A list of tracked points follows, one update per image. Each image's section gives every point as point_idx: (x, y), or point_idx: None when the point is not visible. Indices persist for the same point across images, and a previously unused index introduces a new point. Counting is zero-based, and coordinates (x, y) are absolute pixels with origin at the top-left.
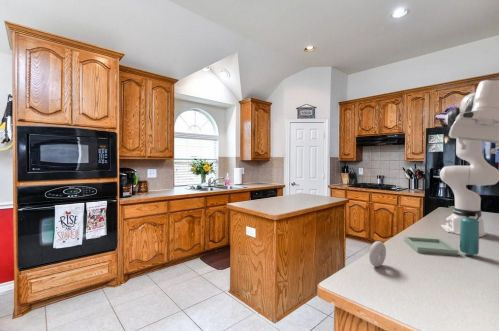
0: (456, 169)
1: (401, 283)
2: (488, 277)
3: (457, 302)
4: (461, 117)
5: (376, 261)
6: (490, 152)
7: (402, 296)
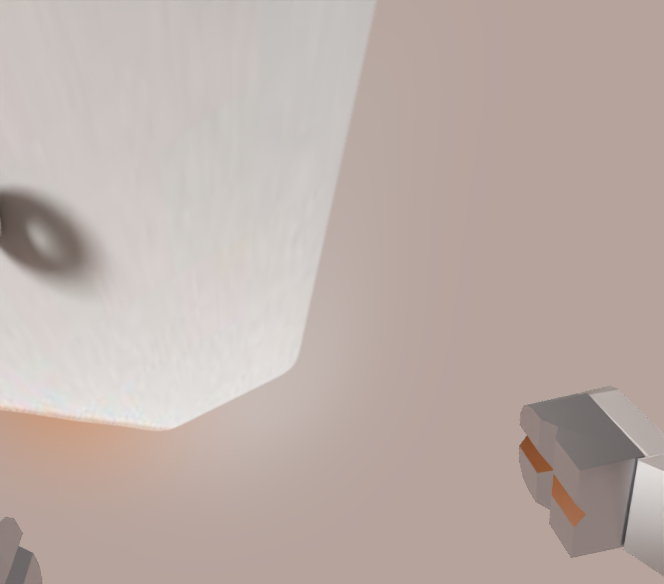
0: None
1: (102, 294)
2: (338, 89)
3: (237, 318)
4: None
5: None
6: (532, 409)
7: (126, 353)
